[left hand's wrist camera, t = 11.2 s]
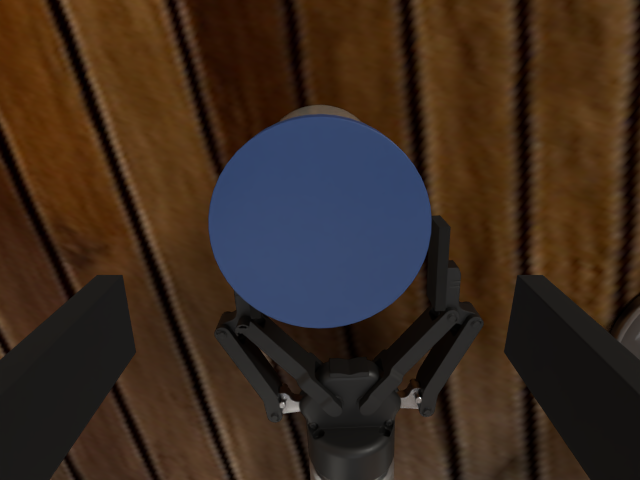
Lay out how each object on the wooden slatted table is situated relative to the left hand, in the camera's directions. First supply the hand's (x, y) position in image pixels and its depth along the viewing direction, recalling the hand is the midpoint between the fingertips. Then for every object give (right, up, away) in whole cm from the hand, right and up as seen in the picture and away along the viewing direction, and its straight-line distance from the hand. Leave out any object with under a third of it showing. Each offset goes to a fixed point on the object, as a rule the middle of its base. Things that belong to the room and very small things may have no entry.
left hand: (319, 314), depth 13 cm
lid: (0, +3, +8) cm, 8 cm away
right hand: (+2, +3, +18) cm, 18 cm away
